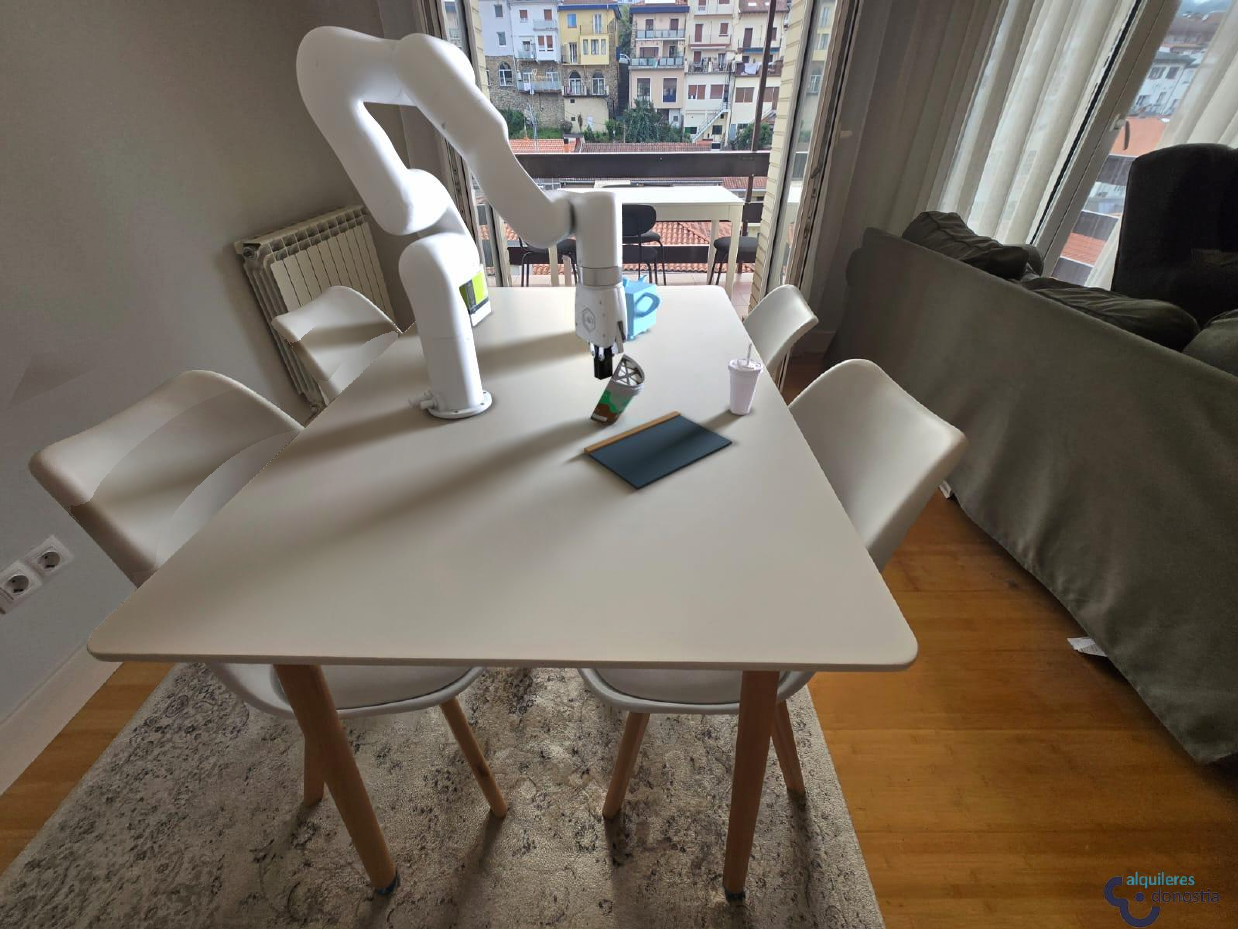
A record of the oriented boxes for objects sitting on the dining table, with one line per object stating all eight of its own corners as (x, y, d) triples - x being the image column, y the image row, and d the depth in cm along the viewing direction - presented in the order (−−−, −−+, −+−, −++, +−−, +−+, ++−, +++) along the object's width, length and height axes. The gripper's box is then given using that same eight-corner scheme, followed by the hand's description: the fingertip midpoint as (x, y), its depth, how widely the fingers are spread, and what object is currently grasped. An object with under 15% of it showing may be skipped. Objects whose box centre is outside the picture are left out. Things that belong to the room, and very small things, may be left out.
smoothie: (736, 420, 97) (746, 350, 89) (716, 407, 102) (723, 339, 94) (762, 413, 99) (774, 344, 92) (741, 400, 104) (750, 334, 97)
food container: (616, 438, 93) (641, 397, 87) (587, 422, 93) (610, 380, 87) (629, 406, 103) (652, 367, 97) (603, 392, 103) (624, 352, 97)
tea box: (461, 311, 160) (452, 262, 152) (491, 312, 159) (484, 262, 150) (440, 326, 147) (429, 273, 139) (473, 327, 146) (464, 274, 138)
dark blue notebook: (637, 489, 78) (637, 485, 78) (584, 452, 88) (583, 448, 88) (732, 443, 90) (732, 439, 89) (675, 414, 99) (675, 410, 99)
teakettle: (664, 340, 135) (666, 283, 127) (595, 346, 132) (593, 288, 124) (645, 319, 151) (646, 267, 143) (583, 324, 148) (580, 271, 140)
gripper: (557, 271, 88) (564, 370, 98) (609, 287, 78) (612, 395, 88) (591, 264, 92) (595, 360, 102) (646, 279, 82) (645, 384, 92)
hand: (603, 376), depth 95 cm, fingers closed
